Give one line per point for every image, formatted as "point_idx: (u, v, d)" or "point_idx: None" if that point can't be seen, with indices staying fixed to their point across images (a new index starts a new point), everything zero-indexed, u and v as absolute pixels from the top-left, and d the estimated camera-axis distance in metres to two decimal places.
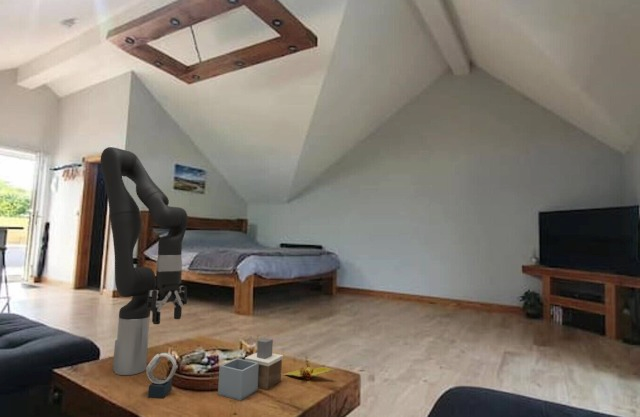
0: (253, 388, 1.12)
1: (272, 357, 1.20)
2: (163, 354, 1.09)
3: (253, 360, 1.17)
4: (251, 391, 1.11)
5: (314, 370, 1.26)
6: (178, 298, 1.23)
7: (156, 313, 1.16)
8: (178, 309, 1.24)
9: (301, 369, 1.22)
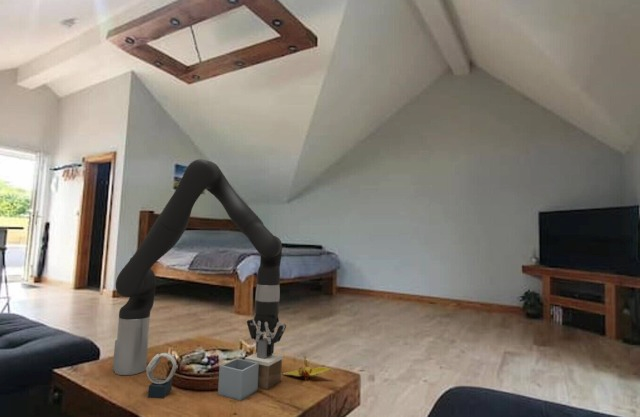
0: (253, 388, 1.12)
1: (272, 357, 1.20)
2: (163, 354, 1.09)
3: (253, 360, 1.17)
4: (251, 391, 1.11)
5: (313, 370, 1.26)
6: None
7: None
8: None
9: (300, 369, 1.22)
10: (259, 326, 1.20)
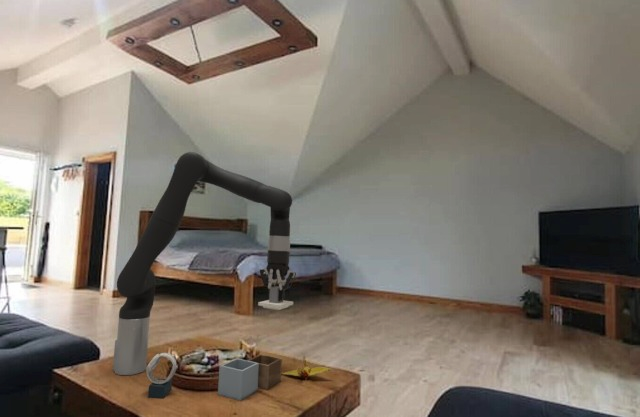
0: (253, 388, 1.12)
1: (283, 302, 1.30)
2: (163, 354, 1.09)
3: (266, 304, 1.27)
4: (251, 391, 1.11)
5: (312, 370, 1.26)
6: None
7: None
8: None
9: (299, 369, 1.22)
10: (271, 274, 1.30)
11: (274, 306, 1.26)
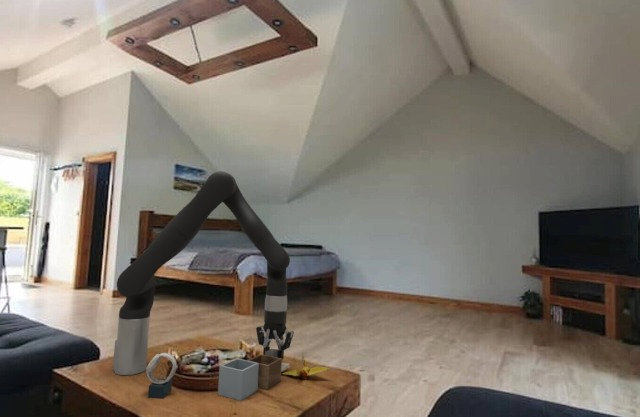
0: (253, 388, 1.12)
1: None
2: (163, 354, 1.09)
3: None
4: (251, 391, 1.11)
5: (311, 369, 1.26)
6: None
7: None
8: (269, 348, 1.31)
9: (298, 368, 1.22)
10: (268, 334, 1.29)
11: None
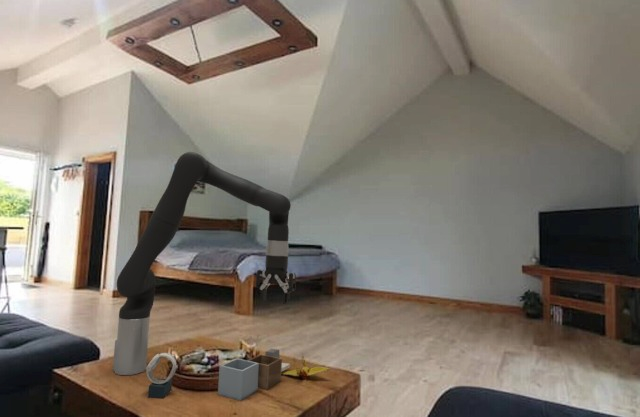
0: (253, 388, 1.12)
1: None
2: (163, 354, 1.09)
3: None
4: (251, 391, 1.11)
5: (310, 369, 1.26)
6: None
7: None
8: (266, 291, 1.32)
9: (297, 368, 1.22)
10: (268, 278, 1.29)
11: None
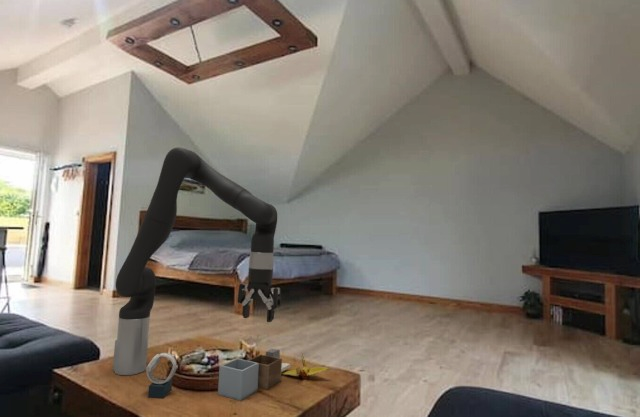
0: (253, 388, 1.12)
1: None
2: (163, 354, 1.09)
3: None
4: (251, 391, 1.11)
5: (310, 369, 1.26)
6: None
7: None
8: (248, 307, 1.21)
9: (297, 368, 1.22)
10: (251, 293, 1.18)
11: None
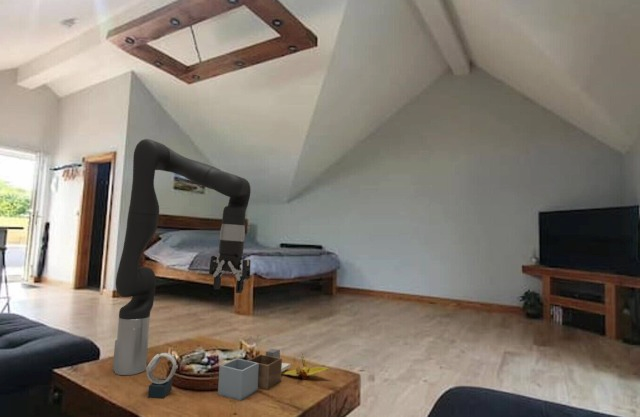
0: (253, 388, 1.12)
1: None
2: (163, 354, 1.09)
3: None
4: (251, 391, 1.11)
5: (310, 369, 1.26)
6: None
7: None
8: (220, 279, 1.23)
9: (297, 368, 1.22)
10: (221, 265, 1.20)
11: None
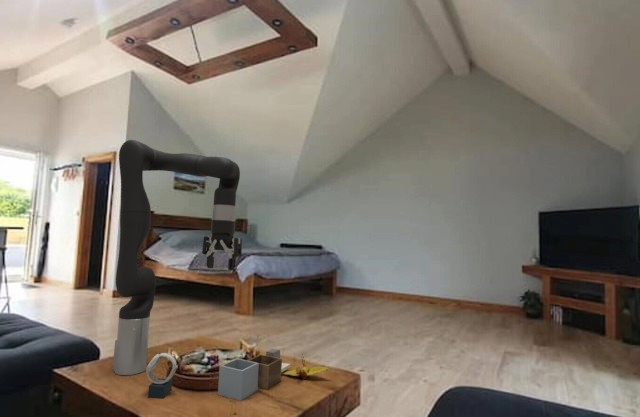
0: (253, 388, 1.12)
1: None
2: (163, 354, 1.09)
3: None
4: (251, 391, 1.11)
5: (310, 369, 1.26)
6: None
7: None
8: (213, 258, 1.28)
9: (297, 368, 1.22)
10: (214, 244, 1.25)
11: None
